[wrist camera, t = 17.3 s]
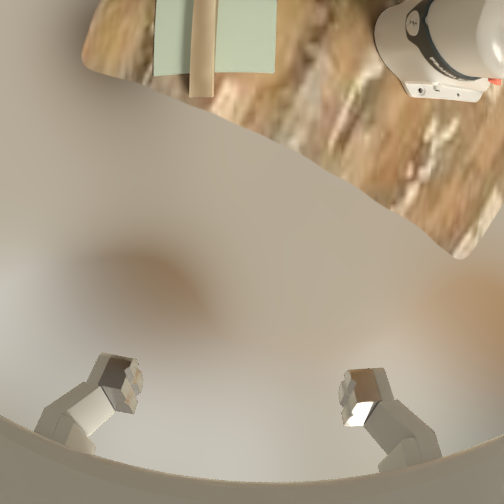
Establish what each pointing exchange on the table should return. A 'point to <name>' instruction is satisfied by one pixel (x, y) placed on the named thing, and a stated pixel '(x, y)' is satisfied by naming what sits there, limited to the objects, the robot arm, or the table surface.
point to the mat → (217, 36)
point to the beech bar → (203, 48)
